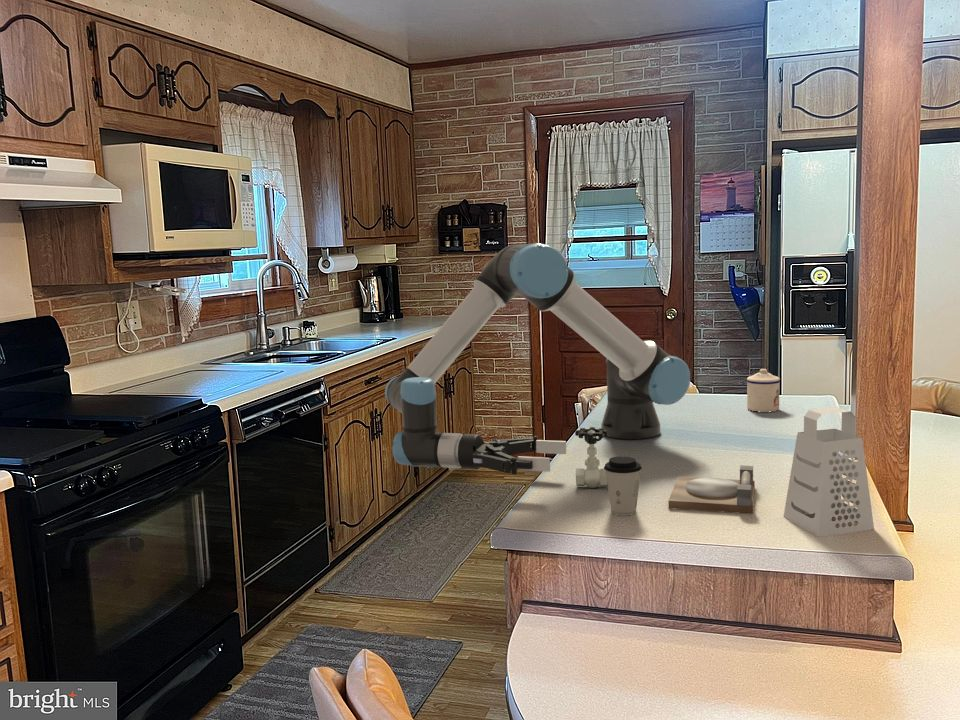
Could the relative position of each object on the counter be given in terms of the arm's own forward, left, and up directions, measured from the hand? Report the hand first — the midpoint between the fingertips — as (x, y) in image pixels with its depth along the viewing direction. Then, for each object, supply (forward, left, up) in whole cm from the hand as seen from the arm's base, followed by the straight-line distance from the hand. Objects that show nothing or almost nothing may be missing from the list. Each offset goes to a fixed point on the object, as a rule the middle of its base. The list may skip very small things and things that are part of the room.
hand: (558, 455), depth 171 cm
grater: (+12, +51, -7) cm, 53 cm away
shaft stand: (+2, +31, -6) cm, 32 cm away
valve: (0, +7, -7) cm, 10 cm away
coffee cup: (+13, +16, -7) cm, 22 cm away
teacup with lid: (-83, +39, -7) cm, 92 cm away
